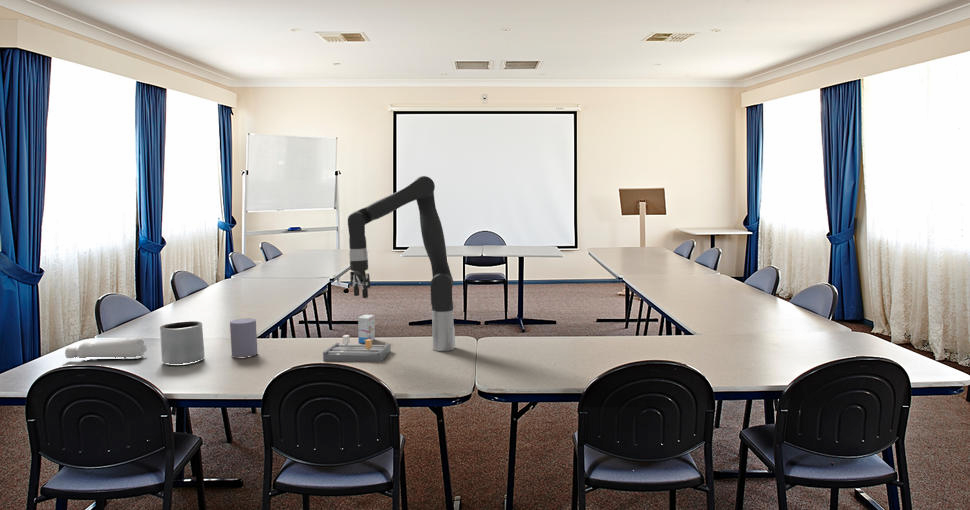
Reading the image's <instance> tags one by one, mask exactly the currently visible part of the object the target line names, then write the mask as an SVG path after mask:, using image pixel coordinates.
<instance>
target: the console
mask: <svg viewBox="0 0 970 510" xmlns="http://www.w3.org/2000/svg"><path fill="white" fill-rule="evenodd" d="M391 352H392V351H391V343H387V344H372V347H371V348H370V352H367V349H365V344H348V347H345V344H340V342H336V343H335V344H333V345H331V346H330V347H328V348H326V350H325V351H323V352H322V359H323V361H325V362H326V361H328V362H373V363H374V362H375V363H376V362H382V361H383V360H384V359H385V358H386V357H387V356H388V355H389V354H390V353H391Z"/></svg>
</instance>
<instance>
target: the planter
mask: <svg viewBox="0 0 970 510" xmlns="http://www.w3.org/2000/svg"><path fill="white" fill-rule="evenodd" d="M159 332H160V334H159V335H160V349H161V350H160V352H161V353H160V355H161V363H162V362H164V363H169V364H183V363H190V362H195V361H198V360H201V359H203V358H204V359H205V343H204V330H203V323H202V322H201V321H198V320H197V321H196V320H185V321H174V322H169V323H165V324H162V325H161V326H160V327H159ZM204 359H203V360H204ZM201 361H202V360H201ZM164 363H163V364H164Z"/></svg>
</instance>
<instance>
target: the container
mask: <svg viewBox="0 0 970 510" xmlns="http://www.w3.org/2000/svg"><path fill="white" fill-rule="evenodd" d="M229 330H230V332H229V333H230V346H231V357H232V356H234V357H248V356H253V355H255V356H257V355H258V354H257V353H259V352H258V351H259V350H258V337H257V318H256V319H255V318H239V319H232V320H230V321H229ZM256 354H257V355H256ZM253 357H254V356H253Z"/></svg>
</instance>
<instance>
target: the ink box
mask: <svg viewBox="0 0 970 510" xmlns="http://www.w3.org/2000/svg"><path fill="white" fill-rule="evenodd" d="M357 320H358V321H357V323H358V324H357V325H358V326H357V327H358V344H365V341H366V340H367V339H372V342H373V341H374V340H375V339H376V338H375V337H376V335H375V334H376V333H375V332H376V331H375V330H376V329H375V327H376V325H375V314H363V315H360V316H358V319H357Z"/></svg>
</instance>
